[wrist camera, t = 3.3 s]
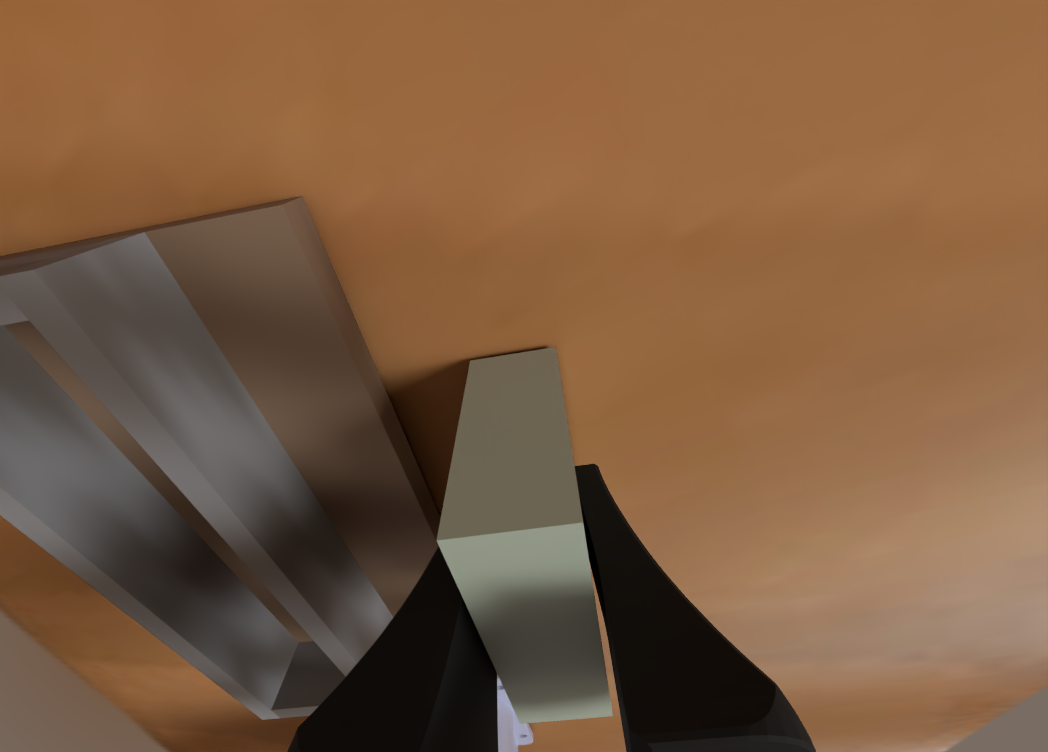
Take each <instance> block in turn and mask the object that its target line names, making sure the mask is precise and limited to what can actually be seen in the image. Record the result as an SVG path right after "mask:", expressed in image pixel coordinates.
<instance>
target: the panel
mask: <svg viewBox="0 0 1048 752" xmlns="http://www.w3.org/2000/svg"><path fill="white" fill-rule="evenodd" d="M437 543H438V545H439V547H440V549H441V552H442V554H443V556H444V558H445V560H446V562H447V565H448V567H449V569H450V571H451V573H452V576H453V578H454V580H455V582H456V584H457V587H458V589H459V591H460V593H461V595H462V597H463V600H464V602H465V604H466V606H467V608H468V611H469V613H470V615H471V617H472V619H473V622H474V624H475V626H476V628H477V630H478V632H479V635H480V637H481V639H482V641H483V643H484V646H485V648H486V650H487V652H488V654H489V657H490V659H491V661H492V663H493V665H494V667H495V670H496V672H497V674H498V676H499V678H500V681H501V683H502V685H503V687H504V689H505V692H506V694H507V696H508V698H509V700H510V702H511V705H512V707H513V709H514V711H515V713H516V716H517V718H518V720H519V722H520V724H524V723H536V722H547V721H559V720H571V719H583V718H595V717H607V716H613V714H612V708H611V701H610V694H609V688H608V681H607V675H606V668H605V662H604V655H603V649H602V642H601V635H600V629H599V622H598V616H597V609H596V603H595V596H594V590H593V583H592V576H591V570H590V563H589V557H588V550H587V544H586V537H585V531H584V524H583V518H582V511H581V505H580V498H579V492H578V486H577V479H576V473H575V466H574V460H573V453H572V447H571V441H570V434H569V428H568V421H567V415H566V409H565V402H564V396H563V389H562V383H561V377H560V370H559V364H558V357H557V351H556V347H553V348H547V349H540V350H534V351H528V352H521V353H515V354H509V355H503V356H496V357H490V358H484V359H477V360H471V361H470V365H469V370H468V375H467V381H466V386H465V391H464V397H463V402H462V407H461V413H460V418H459V423H458V429H457V434H456V439H455V445H454V450H453V455H452V461H451V466H450V471H449V477H448V482H447V487H446V493H445V498H444V503H443V509H442V514H441V519H440V525H439V530H438V535H437Z"/></svg>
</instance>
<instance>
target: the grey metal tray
mask: <svg viewBox="0 0 1048 752" xmlns="http://www.w3.org/2000/svg"><path fill="white" fill-rule="evenodd" d="M0 515H1V516H2V517H3V518H4V519H6V520H7V521H8V522H10V523H11V524H12V525H13V526H15V527H16V528H17V529H19V530H20V531H21V532H22V533H24V534H25V535H26V536H27V537H29V538H30V539H31V540H33V541H34V542H35V543H36V544H38V545H39V546H40V547H42V548H43V549H44V550H45V551H47V552H48V553H49V554H51V555H52V556H53V557H54V558H56V559H57V560H58V561H59V562H61V563H62V564H63V565H65V566H66V567H67V568H68V569H70V570H71V571H72V572H74V573H75V574H76V575H77V576H79V577H80V578H81V579H83V580H84V581H85V582H86V583H88V584H89V585H90V586H91V587H93V588H94V589H95V590H97V591H98V592H99V593H100V594H102V595H103V596H104V597H106V598H107V599H108V600H109V601H111V602H112V603H113V604H115V605H116V606H117V607H118V608H120V609H121V610H122V611H123V612H125V613H126V614H127V615H129V616H130V617H131V618H132V619H134V620H135V621H136V622H138V623H139V624H140V625H141V626H143V627H144V628H145V629H147V630H148V631H149V632H150V633H152V634H153V635H154V636H155V637H157V638H158V639H159V640H161V641H162V642H163V643H164V644H166V645H167V646H168V647H170V648H171V649H172V650H173V651H175V652H176V653H177V654H179V655H180V656H181V657H182V658H184V659H185V660H186V661H187V662H189V663H190V664H191V665H193V666H194V667H195V668H196V669H198V670H199V671H200V672H202V673H203V674H204V675H205V676H207V677H208V678H209V679H210V680H212V681H213V682H214V683H216V684H217V685H218V686H219V687H221V688H222V689H223V690H225V691H226V692H227V693H228V694H230V695H231V696H232V697H234V698H235V699H236V700H237V701H239V702H240V703H241V704H242V705H244V706H245V707H246V708H248V709H249V710H250V711H251V712H253V713H254V714H255V715H257V716H258V717H259V718H260V719H262V720H267V719H278V718H289V717H300V716H310V715H311V714H312V713H313V712H314V710H315V709H316V708H317V707H318V706H319V705H320V704H321V703H322V702H323V701H324V700H325V699H326V698H327V697H328V696H329V695H330V694H331V692H332V691H333V690H334V689H335V688H336V687H337V686H338V685H339V684H340V683H341V682H342V680H343V679H344V678H345V677H346V676H347V675H348V674H349V672H350V671H351V670H352V669H353V668H354V666H355V665H356V664H357V663H358V662H359V660H360V659H361V658H362V657H363V656H364V655H365V653H366V652H367V651H368V650H369V649H370V647H371V646H372V645H373V644H374V642H375V641H376V640H377V639H378V637H379V636H380V635H381V633H382V632H383V631H384V630H385V628H386V627H387V625H388V624H389V623H390V621H391V620H392V619H393V617H394V616H395V614H396V613H397V612H398V610H399V609H400V608H401V606H402V605H403V603H404V602H405V600H406V599H407V597H408V596H409V594H410V593H411V591H412V590H413V588H414V587H415V585H416V584H417V582H418V580H419V579H420V577H421V575H422V574H423V572H424V570H425V569H426V567H427V565H428V563H429V562H430V560H431V558H432V556H433V555H434V553H435V551H436V550H437V548H438V546H439V545H438V543H437V535H438V530H439V525H440V519H441V518H440V516H439V513H438V511H437V509H436V506H435V504H434V502H433V499H432V497H431V495H430V492H429V490H428V488H427V485H426V483H425V481H424V478H423V476H422V474H421V471H420V469H419V467H418V464H417V462H416V460H415V457H414V455H413V453H412V450H411V448H410V446H409V443H408V441H407V439H406V436H405V434H404V432H403V429H402V427H401V425H400V422H399V420H398V418H397V415H396V413H395V411H394V408H393V406H392V404H391V401H390V399H389V397H388V394H387V392H386V390H385V387H384V385H383V383H382V380H381V378H380V376H379V373H378V371H377V369H376V366H375V364H374V362H373V359H372V357H371V355H370V352H369V350H368V348H367V345H366V343H365V341H364V338H363V336H362V334H361V331H360V329H359V327H358V324H357V322H356V320H355V317H354V315H353V313H352V310H351V308H350V306H349V303H348V301H347V299H346V296H345V294H344V292H343V289H342V287H341V285H340V282H339V280H338V278H337V276H336V273H335V271H334V269H333V266H332V264H331V262H330V259H329V257H328V255H327V252H326V250H325V248H324V245H323V243H322V241H321V238H320V236H319V234H318V231H317V229H316V227H315V224H314V222H313V220H312V217H311V215H310V213H309V210H308V208H307V206H306V203H305V201H304V199H303V196H301V197H296V198H291V199H286V200H281V201H276V202H271V203H266V204H261V205H256V206H251V207H246V208H241V209H236V210H231V211H226V212H221V213H216V214H211V215H206V216H201V217H196V218H191V219H186V220H181V221H175V222H170V223H165V224H160V225H155V226H150V227H145V228H140V229H135V230H130V231H125V232H120V233H115V234H110V235H105V236H100V237H95V238H90V239H85V240H80V241H75V242H70V243H65V244H60V245H55V246H50V247H45V248H40V249H35V250H30V251H25V252H20V253H15V254H10V255H5V256H0Z"/></svg>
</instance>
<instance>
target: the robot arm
mask: <svg viewBox="0 0 1048 752" xmlns="http://www.w3.org/2000/svg"><path fill="white" fill-rule="evenodd" d="M575 473H576V479H577V486H578V492H579V498H580V505H581V511H582V518H583V524H584V531H585V537H586V544H587V550H588V557H589V561H590V565H591V569H592V573H593V577H594V581H595V585H596V589H597V593H598V597H599V601H600V605H601V610H602V614H603V618H604V622H605V627H606V631H607V636H608V641H609V648H610V654H611V660H612V666H613V672H614V678H615V684H616V690H617V696H618V702H619V708H620V714H621V720H622V726H623V733H624V739H625V745H626V751H627V752H816V750H815V748H814V746H813V744H812V741H811V739H810V737H809V735H808V733H807V731H806V729H805V728H804V726H803V724H802V722H801V721H800V719H799V717H798V715H797V714H796V712H795V711H794V709H793V708H792V706H791V705H790V703H789V702H788V700H787V699H786V697H785V696H784V694H783V693H782V691H781V690H780V689H779V687H778V686H777V684H776V683H775V682H773V681H772V680H771V679H770V678H769V677H768V676H767V675H766V674H764V673H763V672H762V671H761V670H760V669H759V668H758V667H756V666H755V665H754V664H753V663H752V662H751V661H750V660H749V659H748V658H747V657H745V656H744V655H743V654H742V653H741V652H740V651H739V650H738V649H737V648H736V647H735V646H734V645H733V644H732V643H731V642H730V641H728V640H727V639H726V638H725V637H724V636H723V635H722V634H721V633H720V632H719V631H718V630H717V629H716V628H715V627H714V626H713V625H712V624H711V623H710V622H709V621H708V620H707V619H706V618H705V617H704V615H703V614H702V613H701V612H700V611H699V610H698V609H697V608H696V607H695V606H694V605H693V604H692V603H691V602H690V601H689V600H688V599H687V598H686V597H685V595H684V594H683V593H682V592H681V591H680V590H679V589H678V587H677V586H676V585H675V584H674V583H673V582H672V581H671V579H670V578H669V577H668V576H667V575H666V573H665V572H664V571H663V570H662V569H661V567H660V566H659V565H658V564H657V562H656V561H655V560H654V559H653V557H652V556H651V555H650V553H649V552H648V551H647V549H646V548H645V547H644V545H643V544H642V542H641V541H640V540H639V538H638V537H637V536H636V534H635V533H634V531H633V530H632V528H631V527H630V525H629V524H628V522H627V521H626V519H625V517H624V516H623V514H622V513H621V511H620V510H619V508H618V506H617V505H616V503H615V501H614V499H613V498H612V496H611V494H610V492H609V490H608V488H607V486H606V484H605V482H604V480H603V478H602V475H601V473H600V470H599V467H598V466H597V465H595V464H589V465H581V466H575ZM532 742H533V733H532V731H531V728H530V726H529V724H528V723H524V724H520V722H519V720H518V718H517V716H516V713H515V711H514V709H513V707H512V705H511V702H510V700H509V698H508V696H507V694H506V692H505V689H504V687H503V685H502V683H501V681H500V678H499V676H498V674H497V672H496V670H495V667H494V665H493V663H492V661H491V659H490V657H489V654H488V652H487V650H486V648H485V646H484V643H483V641H482V639H481V637H480V635H479V632H478V630H477V628H476V626H475V624H474V622H473V619H472V617H471V615H470V613H469V611H468V608H467V606H466V604H465V602H464V600H463V597H462V595H461V593H460V591H459V589H458V587H457V584H456V582H455V580H454V578H453V576H452V573H451V571H450V569H449V567H448V565H447V562H446V560H445V558H444V556H443V554H442V552H441V549H440V547H439V546H438V548H437V550H436V551H435V553H434V555H433V556H432V558H431V560H430V562H429V563H428V565H427V567H426V569H425V570H424V572H423V574H422V575H421V577H420V579H419V580H418V582H417V584H416V585H415V587H414V588H413V590H412V591H411V593H410V594H409V596H408V597H407V599H406V600H405V602H404V603H403V605H402V606H401V608H400V609H399V610H398V612H397V613H396V614H395V616H394V617H393V619H392V620H391V621H390V623H389V624H388V625H387V627H386V628H385V630H384V631H383V632H382V633H381V635H380V636H379V637H378V639H377V640H376V641H375V642H374V644H373V645H372V646H371V647H370V649H369V650H368V651H367V652H366V653H365V655H364V656H363V657H362V658H361V659H360V660H359V662H358V663H357V664H356V665H355V666H354V668H353V669H352V670H351V671H350V672H349V674H348V675H347V676H346V677H345V678H344V679H343V680H342V682H341V683H340V684H339V685H338V686H337V687H336V688H335V689H334V690H333V691H332V692H331V694H330V695H329V696H328V697H327V698H326V699H325V700H324V701H323V702H322V703H321V704H320V705H319V706H318V707H317V708H316V709H315V710H314V712H313V713H312V714H311V715H310V716H309V717H308V718H307V719H306V720H305V721H304V722H303V723H302V724H301V725H300V726H299V727H298V729H297V731H296V734H295V736H294V738H293V741H292V743H291V745H290V747H289V749H288V752H518V745H526V744H531V743H532Z"/></svg>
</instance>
